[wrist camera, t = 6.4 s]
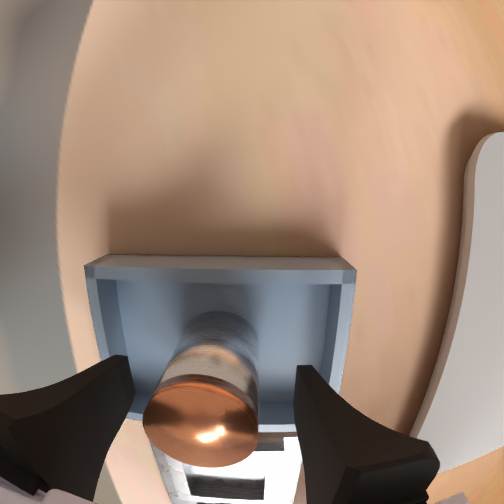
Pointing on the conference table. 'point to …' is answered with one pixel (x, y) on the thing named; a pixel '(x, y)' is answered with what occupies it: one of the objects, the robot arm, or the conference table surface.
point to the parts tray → (229, 300)
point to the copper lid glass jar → (208, 394)
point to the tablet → (472, 325)
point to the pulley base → (238, 475)
